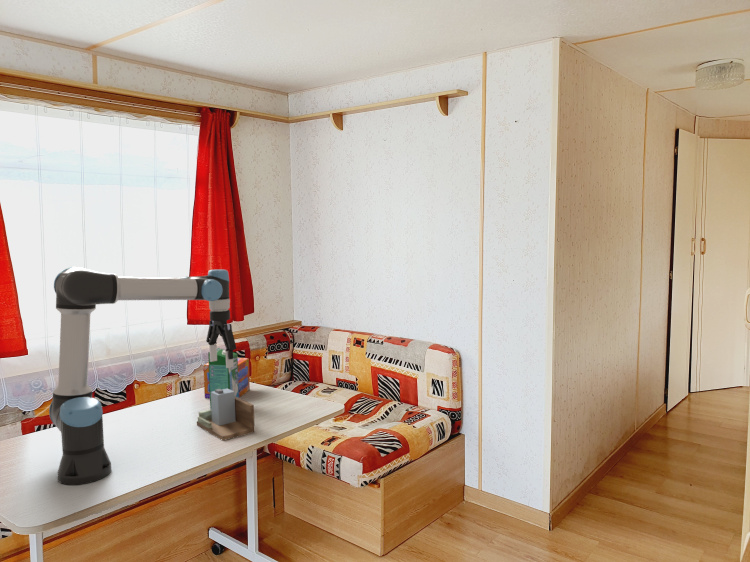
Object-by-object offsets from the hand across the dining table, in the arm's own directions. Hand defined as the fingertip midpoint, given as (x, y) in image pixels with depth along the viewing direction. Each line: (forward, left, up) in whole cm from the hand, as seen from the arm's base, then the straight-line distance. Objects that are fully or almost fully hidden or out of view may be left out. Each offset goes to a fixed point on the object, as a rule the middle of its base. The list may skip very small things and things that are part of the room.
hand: (221, 364), depth 223 cm
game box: (+21, +37, -25) cm, 50 cm away
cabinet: (0, 0, -23) cm, 23 cm away
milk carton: (+11, +20, -25) cm, 34 cm away
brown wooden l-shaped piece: (-1, -4, -24) cm, 25 cm away
